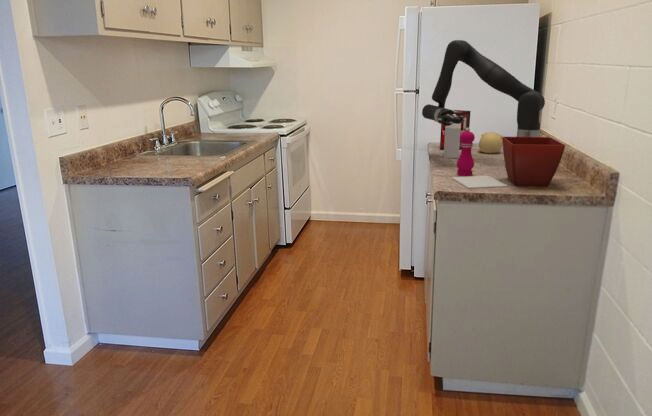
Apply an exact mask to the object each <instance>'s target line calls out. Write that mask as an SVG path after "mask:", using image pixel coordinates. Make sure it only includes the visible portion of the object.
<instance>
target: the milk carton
mask: <svg viewBox="0 0 652 416" xmlns="http://www.w3.org/2000/svg"><path fill="white" fill-rule="evenodd" d="M460 131H461V123H460V124H456V123H453V124H452V125H450V126H445V142H444V150H443V158H444V159H458V158H459V157H460V150H459V146H460Z"/></svg>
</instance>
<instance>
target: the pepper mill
mask: <svg viewBox="0 0 652 416" xmlns="http://www.w3.org/2000/svg"><path fill="white" fill-rule="evenodd" d="M475 137H476V135H475V134H474V133H473V132H472V131H471V129H470V127H469V128H466V131H465V132H463V133H461V135H460V141H461V142H462V143H461V145H460V146H461V152H460V153H459V158H457V160H456V167H457V170H456V171H457V172H456V174H457V176H459V177H465V176H473V168H474V167H475V161H474V158H473V154H472V147H474V143H473V142H474V141H475Z"/></svg>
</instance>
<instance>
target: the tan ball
mask: <svg viewBox="0 0 652 416" xmlns="http://www.w3.org/2000/svg"><path fill="white" fill-rule="evenodd" d="M502 137H504V136H503V134H499V133H497V132H494V131H491V132H484V133H482V134H481V137H480V138H479V142H478V149H479V150H480V151H481V152H482V153H486V154H496V153H499V152H500V151H501V149H502V148H503V138H502Z"/></svg>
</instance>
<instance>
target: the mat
mask: <svg viewBox="0 0 652 416" xmlns="http://www.w3.org/2000/svg"><path fill="white" fill-rule="evenodd" d="M450 179H452V180H453V181H455V182H456V183H458V184H460V185H461V186H463V187H465V188H467V189H488V188H508V187H509V186H508V184H505V183H503V182H501V181H499V180H498V179H495V178H493V177H491V176H490V175H471V176H450Z"/></svg>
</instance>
